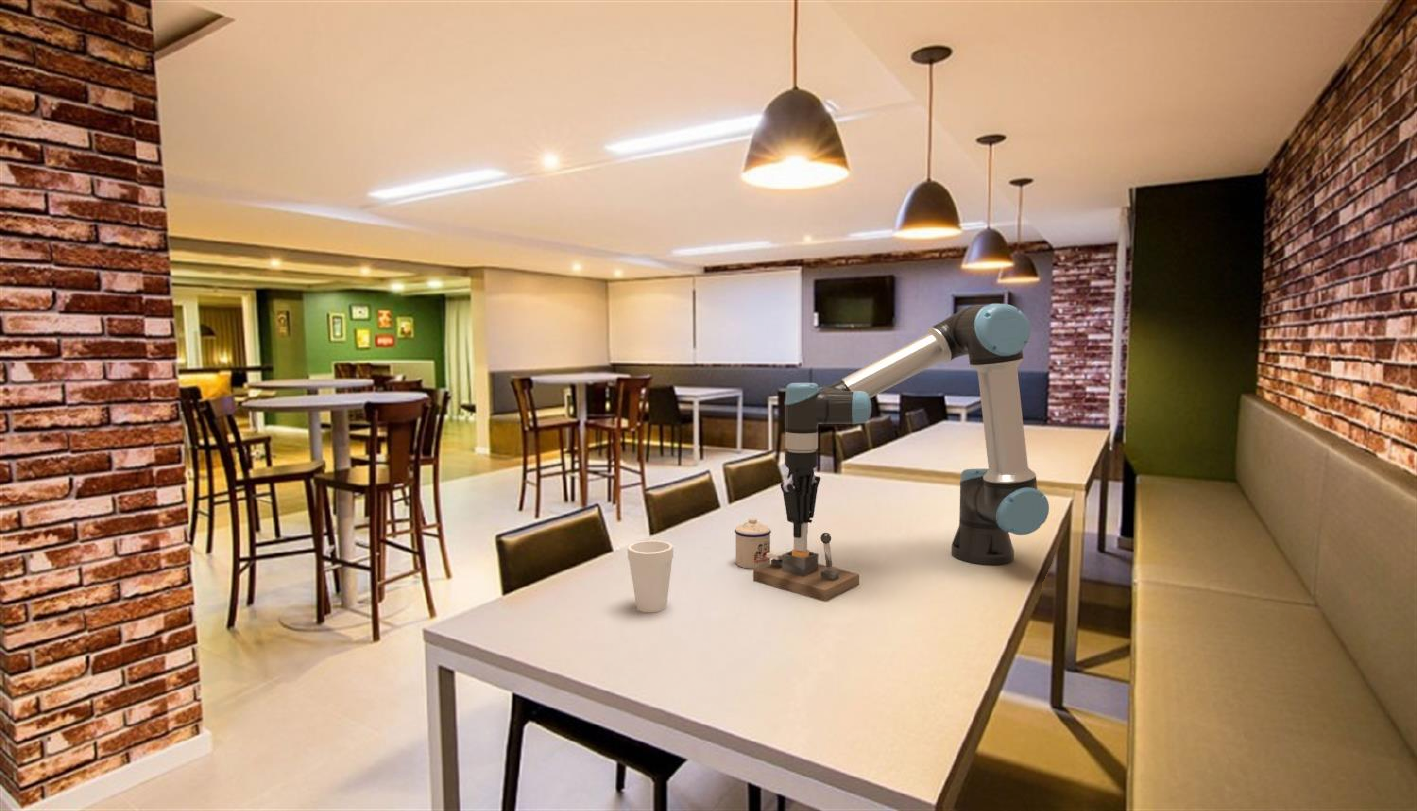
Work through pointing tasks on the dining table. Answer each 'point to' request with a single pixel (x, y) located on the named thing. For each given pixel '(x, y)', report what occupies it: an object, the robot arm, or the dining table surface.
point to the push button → (800, 553)
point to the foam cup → (650, 573)
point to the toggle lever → (827, 549)
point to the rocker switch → (775, 555)
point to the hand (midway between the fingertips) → (800, 550)
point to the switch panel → (806, 577)
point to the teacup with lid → (752, 544)
